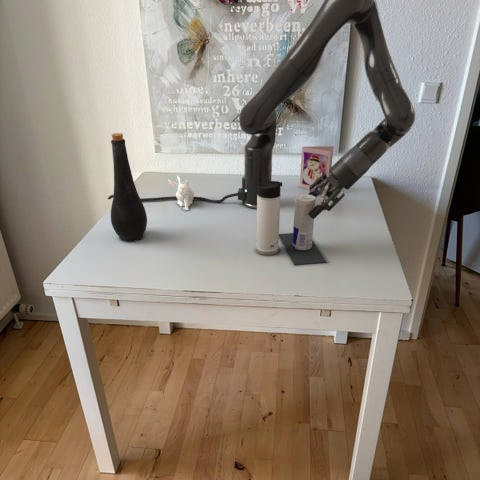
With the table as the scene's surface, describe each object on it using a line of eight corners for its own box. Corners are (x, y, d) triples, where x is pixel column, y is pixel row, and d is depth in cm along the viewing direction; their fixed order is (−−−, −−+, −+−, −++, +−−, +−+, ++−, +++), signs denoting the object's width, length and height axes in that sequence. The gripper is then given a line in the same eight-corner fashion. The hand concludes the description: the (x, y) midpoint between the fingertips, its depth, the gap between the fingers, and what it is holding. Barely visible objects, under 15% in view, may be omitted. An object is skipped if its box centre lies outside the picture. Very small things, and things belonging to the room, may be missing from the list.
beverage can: (314, 245, 143) (318, 195, 134) (308, 252, 139) (312, 202, 130) (296, 241, 145) (299, 192, 136) (289, 249, 141) (292, 199, 132)
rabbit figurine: (188, 210, 166) (186, 182, 160) (166, 209, 167) (164, 181, 162) (197, 198, 176) (195, 171, 170) (176, 197, 177) (174, 170, 171)
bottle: (155, 232, 151) (143, 131, 135) (138, 246, 143) (124, 140, 126) (125, 227, 154) (110, 128, 137) (107, 241, 146) (89, 137, 129)
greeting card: (298, 187, 185) (301, 147, 176) (307, 182, 190) (310, 142, 181) (325, 193, 179) (329, 152, 171) (334, 188, 184) (338, 147, 176)
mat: (278, 235, 149) (278, 234, 149) (306, 233, 151) (307, 232, 150) (294, 265, 133) (294, 264, 133) (326, 262, 134) (326, 261, 134)
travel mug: (277, 256, 137) (280, 187, 126) (254, 254, 138) (255, 185, 127) (280, 247, 142) (283, 179, 131) (258, 245, 143) (259, 178, 132)
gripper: (334, 150, 134) (291, 193, 139) (351, 166, 123) (304, 212, 128) (350, 168, 138) (307, 209, 143) (368, 185, 126) (322, 229, 131)
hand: (306, 210), depth 135 cm, fingers open, 8 cm apart
